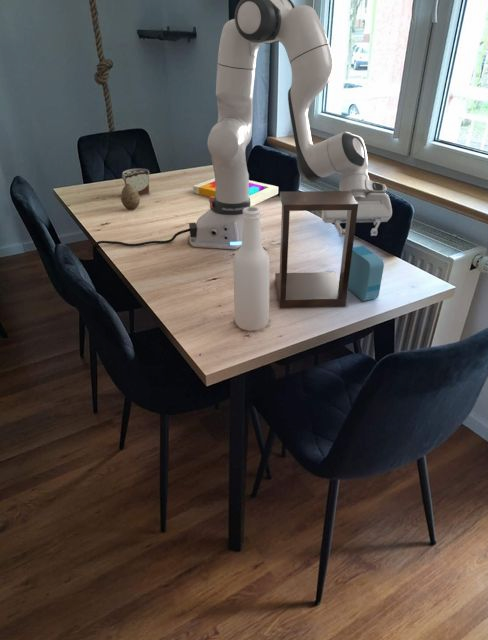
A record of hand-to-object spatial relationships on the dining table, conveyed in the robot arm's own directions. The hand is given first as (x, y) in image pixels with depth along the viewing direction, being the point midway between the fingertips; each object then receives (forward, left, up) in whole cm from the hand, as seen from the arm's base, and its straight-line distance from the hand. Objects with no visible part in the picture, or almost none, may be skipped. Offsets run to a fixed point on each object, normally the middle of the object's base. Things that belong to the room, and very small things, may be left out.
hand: (358, 235), depth 141 cm
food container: (-77, +78, -13) cm, 111 cm away
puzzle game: (-37, +75, -13) cm, 85 cm away
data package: (0, -11, -13) cm, 17 cm away
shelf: (-15, -11, -13) cm, 23 cm away
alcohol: (-32, -26, -13) cm, 43 cm away
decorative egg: (-76, +60, -13) cm, 98 cm away
